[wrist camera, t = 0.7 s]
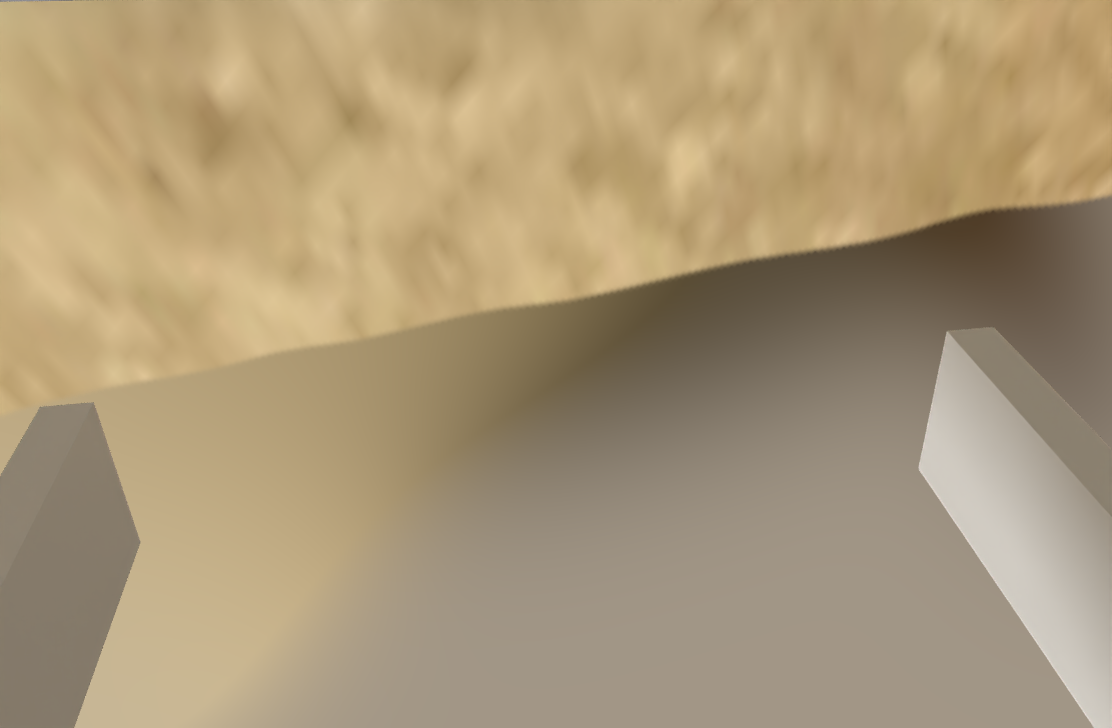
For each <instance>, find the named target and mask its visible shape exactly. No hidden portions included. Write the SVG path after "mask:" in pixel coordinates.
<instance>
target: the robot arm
mask: <svg viewBox="0 0 1112 728" xmlns="http://www.w3.org/2000/svg"><path fill="white" fill-rule="evenodd" d="M919 470H920V472H921V473H922V475H923V476H924V478H925V479H926V481H927V482H928V484H929V485H930V486H931V488H932V489H933V491H934V492H935V494H936V495H937V497H938V498H939V500H940V501H941V503H942V504H943V506H944V507H945V508H946V510H947V512H948V513H949V514H950V516H951V517H952V519H953V520H954V522H955V523H956V525H957V526H958V528H959V529H960V531H961V532H962V534H963V535H964V536H965V538H966V540H967V541H968V543H969V544H970V545H971V547H972V548H973V550H974V551H975V553H976V554H977V556H978V557H979V559H980V560H981V562H982V563H983V565H984V566H985V567H986V569H987V571H988V572H989V573H990V575H991V576H992V578H993V579H994V581H995V582H996V584H997V585H998V587H999V588H1000V590H1001V591H1002V593H1003V594H1004V596H1005V597H1006V599H1007V600H1008V601H1009V603H1010V604H1011V606H1012V607H1013V609H1014V610H1015V612H1016V613H1017V615H1018V616H1019V618H1020V619H1021V621H1022V622H1023V624H1024V625H1025V627H1026V628H1027V629H1028V631H1029V632H1030V634H1031V635H1032V637H1033V638H1034V640H1035V641H1036V643H1037V644H1038V646H1039V647H1040V649H1041V650H1042V651H1043V653H1044V654H1045V656H1046V658H1047V659H1048V661H1049V662H1050V663H1051V665H1052V666H1053V668H1054V669H1055V671H1056V672H1057V674H1058V675H1059V677H1060V678H1061V680H1062V681H1063V683H1064V684H1065V685H1066V687H1067V689H1068V690H1069V691H1070V693H1071V694H1072V696H1073V697H1074V699H1075V700H1076V702H1077V703H1078V705H1079V706H1080V708H1081V709H1082V711H1083V712H1084V714H1085V715H1086V717H1087V718H1088V720H1089V721H1090V722H1091V724H1092V725H1093V727H1094V728H1112V449H1111V448H1110V447H1109V446H1108V445H1107V444H1106V443H1105V442H1104V441H1103V440H1102V439H1101V438H1100V436H1099V435H1097V433H1096V432H1095V431H1094V430H1093V429H1092V428H1091V427H1090V426H1089V425H1088V424H1087V423H1086V422H1085V421H1084V420H1083V419H1082V418H1081V417H1080V416H1079V415H1078V414H1077V413H1076V412H1075V411H1074V410H1073V409H1072V408H1071V407H1070V406H1069V405H1068V404H1067V403H1066V401H1064V399H1063V398H1062V397H1061V396H1060V395H1059V394H1058V393H1057V392H1056V391H1055V390H1054V389H1053V388H1052V387H1051V386H1050V385H1049V384H1048V383H1047V382H1046V381H1045V380H1044V379H1043V378H1042V377H1041V376H1040V375H1039V374H1038V373H1037V372H1036V371H1035V370H1034V368H1033V367H1031V365H1030V364H1029V363H1028V362H1027V361H1026V360H1025V359H1024V358H1023V357H1022V356H1021V355H1020V354H1019V353H1018V352H1017V351H1016V350H1015V349H1014V348H1013V347H1012V346H1011V345H1010V344H1009V343H1008V342H1007V341H1006V340H1005V339H1004V338H1003V337H1002V336H1001V335H1000V334H999V332H997V330H995V328H994V327H989V328H977V329H965V330H953V331H947V333H946V338H945V343H944V348H943V353H942V357H941V363H940V367H939V372H938V377H937V382H936V386H935V391H934V396H933V401H932V406H931V410H930V416H929V420H928V425H927V430H926V435H925V440H924V444H923V449H922V454H921V459H920V463H919ZM139 544H140V540H139V537H138V534H137V531H136V528H135V525H134V522H133V519H132V516H131V513H130V510H129V507H128V504H127V501H126V498H125V495H124V492H123V489H122V486H121V483H120V480H119V477H118V474H117V471H116V468H115V465H114V462H113V459H112V456H111V453H110V450H109V447H108V444H107V441H106V438H105V435H104V432H103V429H102V426H101V423H100V420H99V417H98V414H97V411H96V408H95V405H94V402H93V403H81V404H68V405H57V406H44V407H40V408H39V410H38V412H37V414H36V415H35V417H34V419H33V420H32V422H31V424H30V425H29V427H28V429H27V431H26V432H25V434H24V436H23V437H22V439H21V441H20V443H19V444H18V446H17V448H16V449H15V451H14V453H13V455H12V456H11V458H10V460H9V462H8V464H7V465H6V467H5V468H4V470H3V472H2V474H1V476H0V728H74V726H75V724H76V721H77V718H78V715H79V713H80V710H81V707H82V704H83V701H84V698H85V696H86V693H87V690H88V687H89V685H90V682H91V679H92V676H93V673H94V671H95V668H96V665H97V662H98V659H99V657H100V654H101V651H102V648H103V645H104V642H105V640H106V637H107V634H108V632H109V629H110V626H111V623H112V620H113V617H114V615H115V612H116V609H117V606H118V604H119V601H120V598H121V595H122V592H123V590H124V587H125V584H126V581H127V578H128V575H129V573H130V570H131V567H132V564H133V562H134V559H135V556H136V553H137V550H138V548H139Z"/></svg>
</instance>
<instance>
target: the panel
mask: <svg viewBox="0 0 1112 728" xmlns="http://www.w3.org/2000/svg"><path fill="white" fill-rule="evenodd" d="M3 1H72V0H0V2H3Z"/></svg>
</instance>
